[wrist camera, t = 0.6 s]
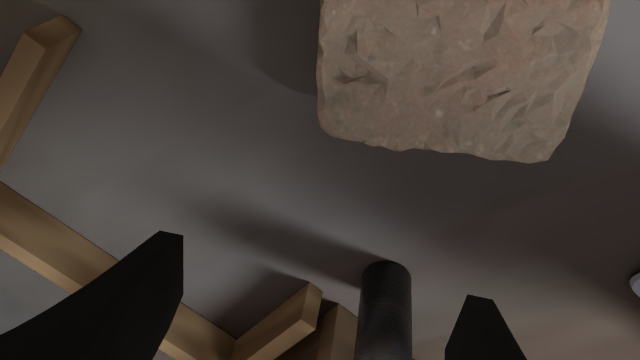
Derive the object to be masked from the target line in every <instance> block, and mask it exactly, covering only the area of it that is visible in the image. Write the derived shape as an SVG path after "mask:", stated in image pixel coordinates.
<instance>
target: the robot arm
mask: <svg viewBox="0 0 640 360" xmlns="http://www.w3.org/2000/svg"><path fill="white" fill-rule="evenodd" d="M629 284H630V286H631V288H632V290H633V292H634V293H636V294H637V295H638V296H639V297H640V273H638V274H636V275H635V276H633V277H632V278H631V279H630V281H629ZM182 296H183V235H179V234H174V233H169V232H164V231H159V232H157V233H155V234H154V235H153V236H151V237H150V238H149V239H148V240H146V241H145V242H144V243H142V244H141V245H140V246H138V247H137V248H136V249H135V250H133V251H132V252H131V253H129V254H128V255H127V256H125V257H124V258H123V259H121V260H120V261H119V262H117V263H116V264H115V265H113V266H112V267H110V268H109V269H108V270H106V271H105V272H103V273H102V274H101V275H99V276H98V277H97V278H95V279H94V280H92V281H91V282H89V283H88V284H87V285H85V286H83V287H82V288H80V289H79V290H77V291H76V292H74V293H73V294H71V295H70V296H68V297H67V298H65V299H64V300H62V301H60V302H59V303H57V304H56V305H54V306H52V307H51V308H49V309H47V310H46V311H44V312H42V313H41V314H39V315H37V316H35V317H34V318H32V319H30V320H28V321H26V322H25V323H23V324H21V325H19V326H17V327H15V328H14V329H12V330H10V331H8V332H6V333H4V334H1V335H0V360H152V359H153V357H154V356H155V354H156V352H157V350H158V348H159V346H160V345H161V343H162V341H163V339H164V337H165V336H166V334H167V332H168V330H169V328H170V325H171V323H172V321H173V318H174V316H175V314H176V311H177V309H178V306H179V304H180V301H181V298H182ZM445 360H527V359H526V357H525V356H524V354H523V352H522V350H521V349H520V347H519V345H518V344H517V342H516V340H515V338H514V337H513V335H512V333H511V331H510V330H509V328H508V326H507V324H506V322H505V321H504V319H503V317H502V315H501V313H500V312H499V310H498V308H497V306H496V304H495V303H494V301H493V300H492V299H487V298H482V297H477V296H473V295H467V297H466V300H465V302H464V304H463V307H462V309H461V312H460V314H459V317H458V319H457V321H456V324H455V326H454V329H453V331H452V334H451V336H450V339H449V341H448V343H447V346H446V348H445Z"/></svg>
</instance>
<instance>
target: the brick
mask: <svg viewBox="0 0 640 360" xmlns="http://www.w3.org/2000/svg"><path fill="white" fill-rule="evenodd" d="M610 3H611V0H320V8H321V9H320V23H319V40H318V52H317V67H316V83H317V90H318V94H317V114H318V118H319V126H320V127H321V128H322V129H323V130H324V131H325V132H326V133H327V134H329V135H330V136H331V137H335V138H340V139H344V140H348V141H357V142H362V143H365V144H367V145H370V146H372V147H376V146H381V147H384V148H387V149H391V150H394V151H398V152H400V151H404V150H408V149H412V148H416V149H424V150H435V151H438V152H441V153H467V154H471V155H475V156H478V157H482V158H485V159H488V160H509V161H516V162H522V163H527V164H530V163H536V162H542V161H548V160H549V158H550V157H551V155H552V153H553V152H554V150H555V148H556V147H557V146H558V145H559V144H560V143H561V142H562V141H563V140H564V138H565V136H566V133H567V130H568V127H569V125H570V122H571V117H572V115H573V113H574V110H575V108H576V106H577V104H578V101H579V99H580V97H581V95H582V93H583V91H584V87H585V83H586V79H587V76H588V74H589V72H590V70H591V68H592V66H593V64H594V61H595V59H596V56H597V53H598V50H599V48H600V45H601V42H602V39H603V35H604V31H605V28H606V24H607V20H608V15H609V9H610Z"/></svg>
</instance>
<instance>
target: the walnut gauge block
mask: <svg viewBox="0 0 640 360" xmlns="http://www.w3.org/2000/svg"><path fill="white" fill-rule="evenodd" d="M357 322H358V318H357V317H356V316H354V315H353V314H352V313H350V312H349V311H348V310H346V309H345V308H344V307H342V306H341V305H340V304H338V305H336V306H335V307H334V308H332V309H331V310H329V311H328V312H327V313H325V314H324V315H323V316H321V317H320V318H319V319H317V324H316V329H315V330H314V331H313V332H311V333H310V334H308V335H307V336H306V337H304V338H303V339H301V340H300V341H299V342H297V343H296V344H294V345H293V346H292V347H290V348H289V349H288V350H286V351H285V352H283V353H282V354H281V355H279V356H278V357H276V358H275V359H274V360H354V351H355V341H356V332H357ZM412 360H414V359H413V358H412Z"/></svg>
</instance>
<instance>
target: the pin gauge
mask: <svg viewBox="0 0 640 360" xmlns="http://www.w3.org/2000/svg"><path fill="white" fill-rule="evenodd" d="M354 360H412V298H411V276H410V273H409V272H408V270H407V269H406V268H405V267H403V266H402V265H400V264H398V263H395V262H392V261H379V262H375V263H373V264H371V265H369V266H368V267H367V268H366V269H365V270H364V272H363V275H362V283H361V293H360V303H359V312H358V322H357V332H356V341H355V351H354Z"/></svg>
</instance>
